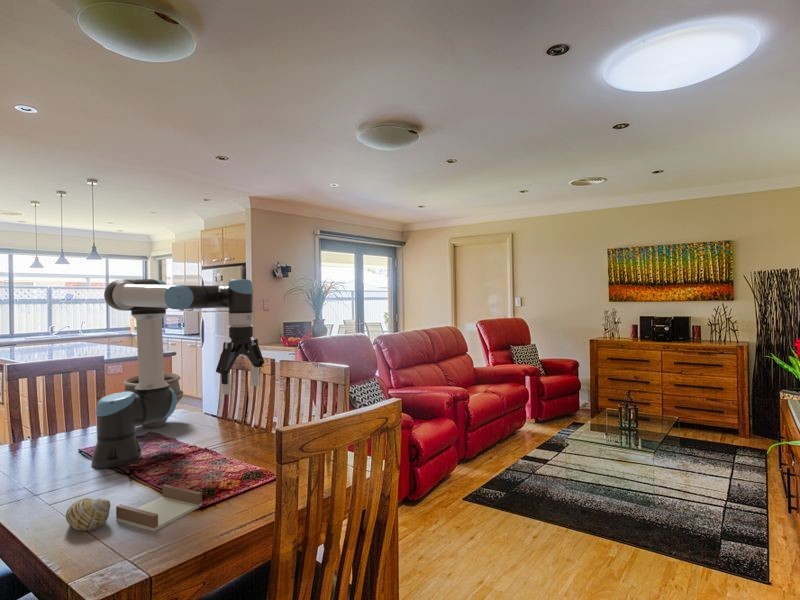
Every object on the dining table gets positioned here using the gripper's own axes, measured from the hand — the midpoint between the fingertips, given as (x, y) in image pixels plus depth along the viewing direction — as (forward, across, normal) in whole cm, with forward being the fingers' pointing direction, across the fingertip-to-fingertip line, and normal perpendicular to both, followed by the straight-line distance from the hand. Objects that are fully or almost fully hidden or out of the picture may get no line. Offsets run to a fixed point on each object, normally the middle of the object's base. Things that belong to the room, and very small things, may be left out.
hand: (241, 389), depth 154 cm
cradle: (+27, -32, 0) cm, 42 cm away
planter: (+28, +28, +75) cm, 84 cm away
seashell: (+27, -44, +11) cm, 53 cm away
